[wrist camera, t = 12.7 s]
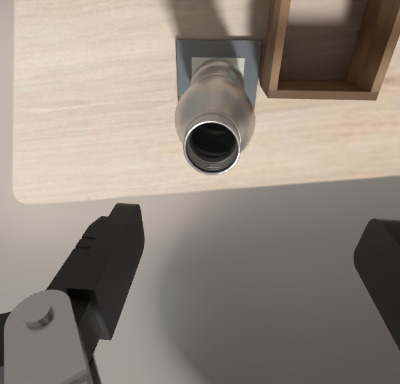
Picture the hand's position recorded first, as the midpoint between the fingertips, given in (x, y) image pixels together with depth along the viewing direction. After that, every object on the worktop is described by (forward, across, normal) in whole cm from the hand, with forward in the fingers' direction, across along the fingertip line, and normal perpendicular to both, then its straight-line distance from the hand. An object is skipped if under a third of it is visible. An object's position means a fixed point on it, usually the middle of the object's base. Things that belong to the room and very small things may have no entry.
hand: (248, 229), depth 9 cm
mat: (+28, +2, 0) cm, 28 cm away
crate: (+28, -9, -5) cm, 30 cm away
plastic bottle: (+28, +2, 0) cm, 28 cm away
